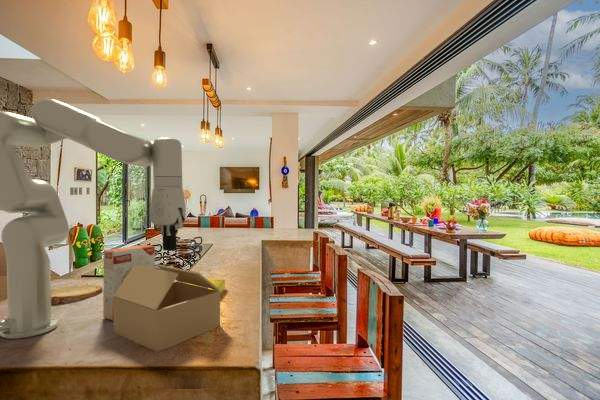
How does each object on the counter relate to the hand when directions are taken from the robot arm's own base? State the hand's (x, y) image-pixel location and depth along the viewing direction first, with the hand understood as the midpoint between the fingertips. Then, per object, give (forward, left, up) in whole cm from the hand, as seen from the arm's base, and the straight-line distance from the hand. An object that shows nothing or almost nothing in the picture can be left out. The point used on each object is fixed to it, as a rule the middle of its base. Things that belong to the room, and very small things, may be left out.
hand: (169, 249), depth 97 cm
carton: (0, 0, -23) cm, 23 cm away
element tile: (+28, +19, -23) cm, 41 cm away
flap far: (+6, 0, -9) cm, 11 cm away
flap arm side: (-7, 0, -9) cm, 11 cm away
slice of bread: (-2, +55, -23) cm, 60 cm away
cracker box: (+1, +21, -23) cm, 31 cm away
